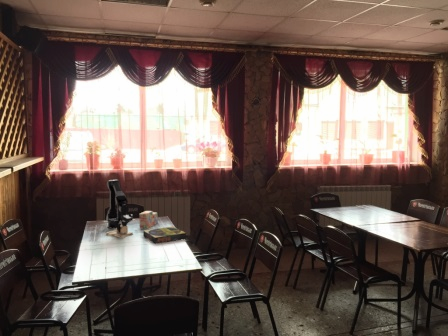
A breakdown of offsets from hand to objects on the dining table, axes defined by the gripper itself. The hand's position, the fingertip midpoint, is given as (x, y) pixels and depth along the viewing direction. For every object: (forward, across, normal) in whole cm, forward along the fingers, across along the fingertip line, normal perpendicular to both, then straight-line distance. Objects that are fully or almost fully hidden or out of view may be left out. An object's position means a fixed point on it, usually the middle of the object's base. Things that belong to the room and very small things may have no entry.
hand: (121, 231), depth 305 cm
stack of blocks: (+3, +34, +3) cm, 34 cm away
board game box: (+4, +10, -33) cm, 34 cm away
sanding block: (+1, 0, 0) cm, 1 cm away
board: (+3, 0, +3) cm, 4 cm away
